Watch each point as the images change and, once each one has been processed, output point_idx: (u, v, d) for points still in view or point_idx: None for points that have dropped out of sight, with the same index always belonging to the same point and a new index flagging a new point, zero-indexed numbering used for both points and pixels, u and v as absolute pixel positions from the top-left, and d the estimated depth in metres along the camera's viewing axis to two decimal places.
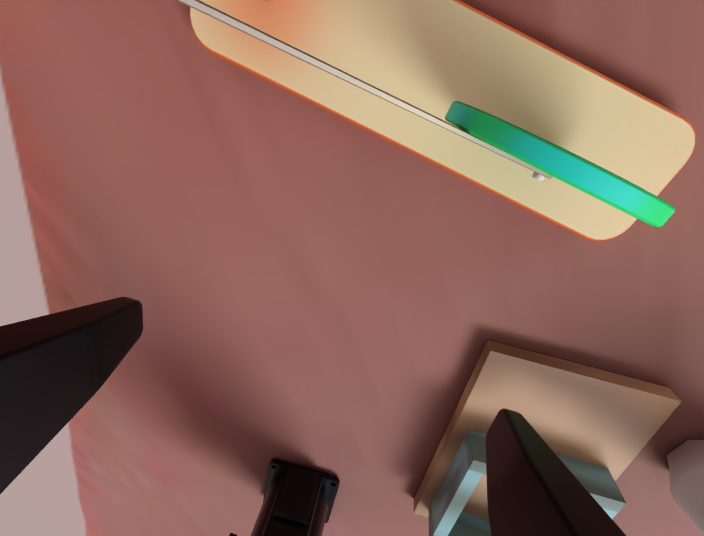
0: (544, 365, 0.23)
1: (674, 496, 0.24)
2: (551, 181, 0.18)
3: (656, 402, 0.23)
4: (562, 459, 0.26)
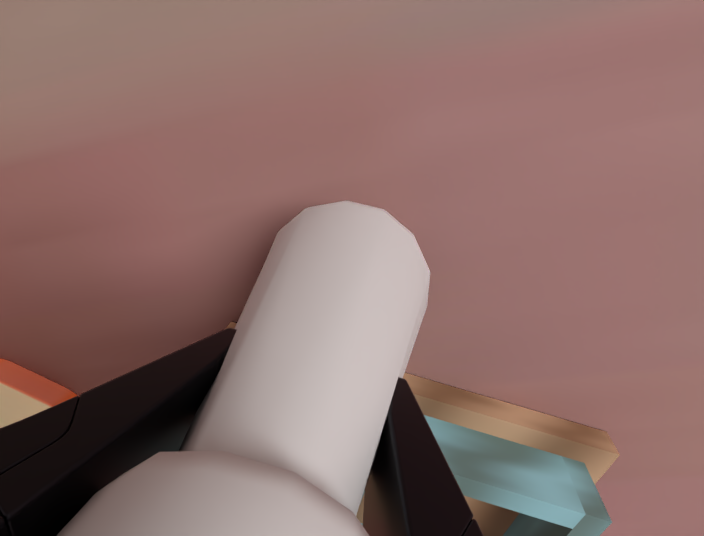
0: None
1: None
2: None
3: None
4: None
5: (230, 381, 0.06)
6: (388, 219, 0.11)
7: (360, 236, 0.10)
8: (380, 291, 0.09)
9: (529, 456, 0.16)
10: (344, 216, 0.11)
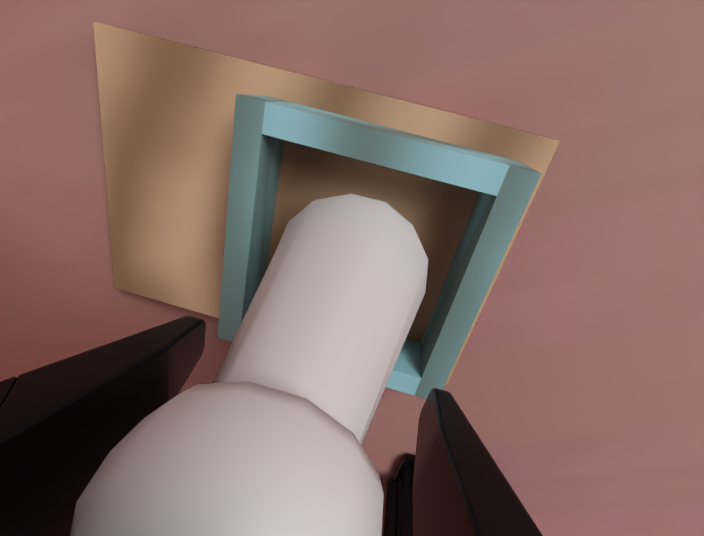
0: (110, 227, 0.18)
1: None
2: None
3: (109, 61, 0.14)
4: None
5: (250, 339, 0.07)
6: (389, 210, 0.12)
7: (363, 224, 0.11)
8: (380, 272, 0.10)
9: (453, 145, 0.13)
10: (349, 206, 0.12)
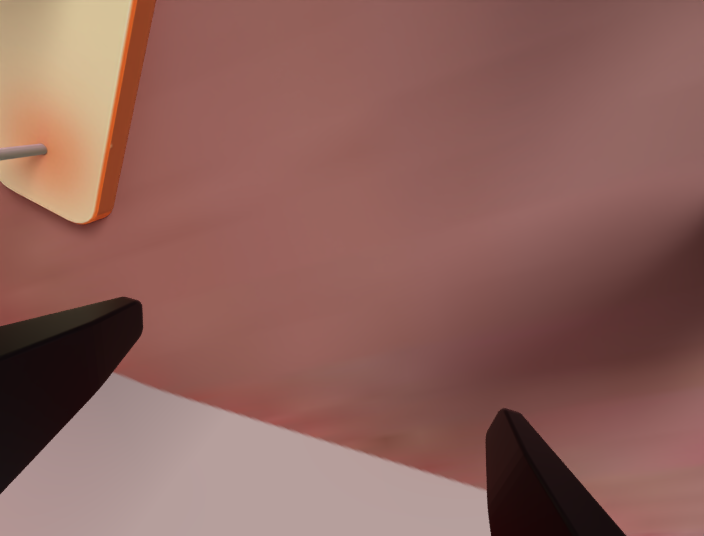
0: None
1: None
2: None
3: None
4: None
5: None
6: None
7: None
8: None
9: None
10: None
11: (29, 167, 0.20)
